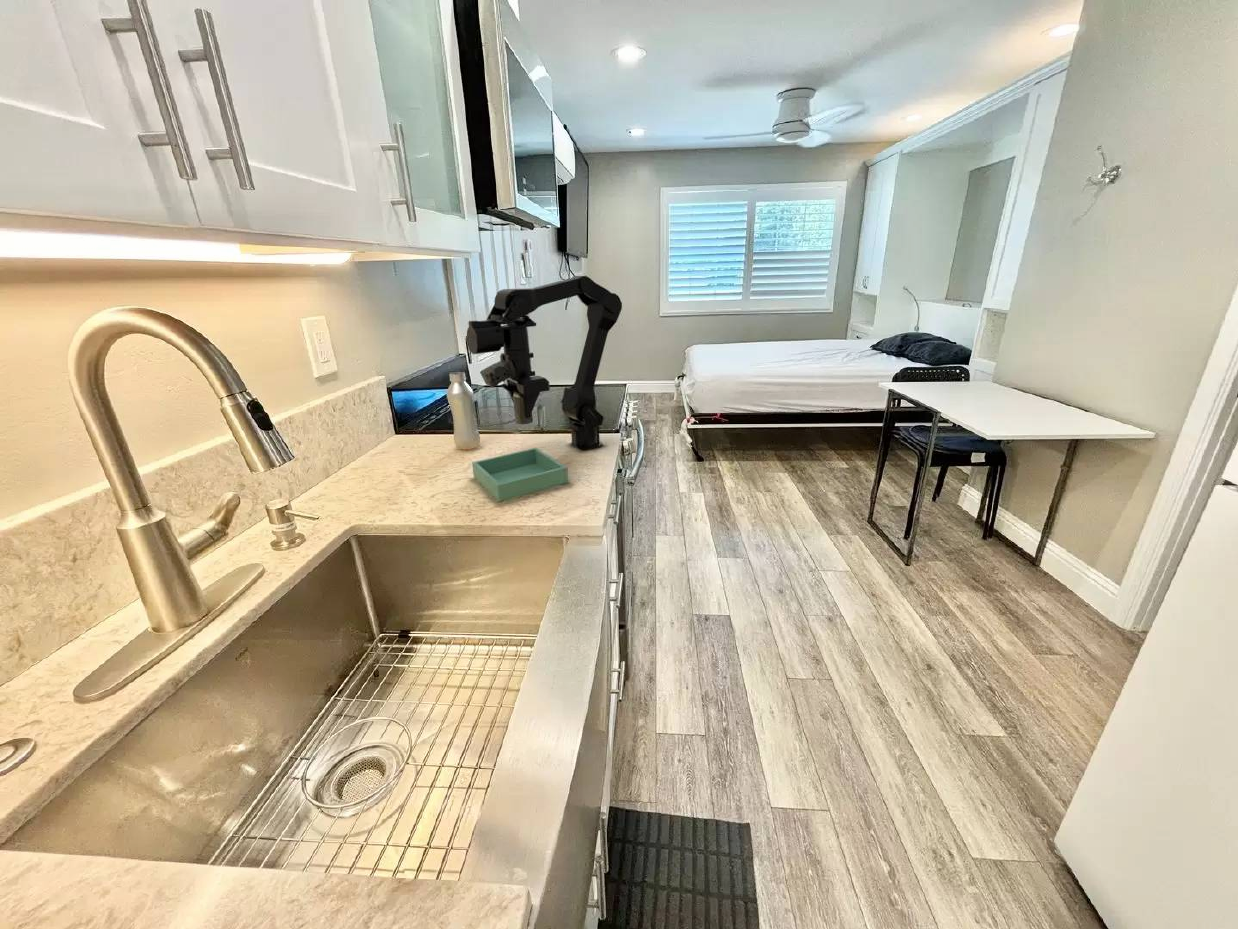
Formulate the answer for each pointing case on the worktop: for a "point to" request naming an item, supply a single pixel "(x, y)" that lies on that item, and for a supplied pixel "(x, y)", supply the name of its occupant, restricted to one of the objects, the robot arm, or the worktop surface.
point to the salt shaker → (520, 411)
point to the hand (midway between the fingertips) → (523, 415)
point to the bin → (519, 473)
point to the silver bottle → (462, 412)
